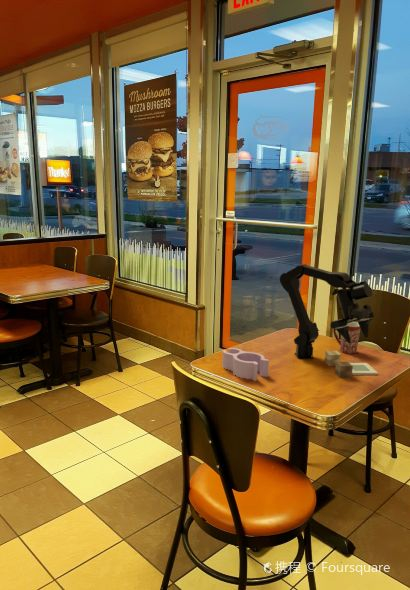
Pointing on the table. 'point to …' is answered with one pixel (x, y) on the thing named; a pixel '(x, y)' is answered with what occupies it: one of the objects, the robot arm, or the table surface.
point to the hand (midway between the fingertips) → (358, 340)
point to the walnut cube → (343, 369)
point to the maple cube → (332, 357)
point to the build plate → (362, 369)
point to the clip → (245, 363)
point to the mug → (354, 336)
